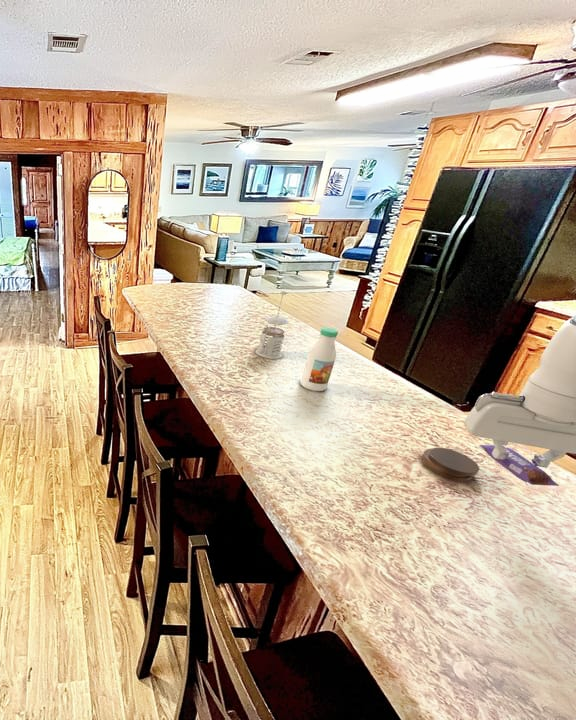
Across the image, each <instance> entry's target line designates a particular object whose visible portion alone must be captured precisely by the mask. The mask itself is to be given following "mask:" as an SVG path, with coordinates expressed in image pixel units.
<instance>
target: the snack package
mask: <svg viewBox="0 0 576 720" xmlns="http://www.w3.org/2000/svg"><path fill="white" fill-rule="evenodd" d="M502 446H503V448H504V449H505V450H506V451H507V452H508V453H509V455H508V457H506V458H507V459H506V460H502V459H496V458H494V456H493V455H492V452H493V450H494V448H495V446H494V444H493V445H492V444H491V445H489V444H479V447H481V448H482V449H483V450H484V451H485V453H486V454H487V455H488V456H489V457H490V458H491V459H492V460H494V461H495V462H497V463H498V464H499V465H501V466H502V467H503V468H504V469H506V470H507V471H509V472H510V473H511V474H512V475H514V476H515V477H516V478H517V479H519V480H521V481H523V482H524V483H528V484H530V485H531V486H532V485H533V486H553V487H555V486H556V487H560V485H559V484H558V483H557V482H555V481H554V480H553V479H552V477H551V476H550V475H549V474H548V473H546V471H544V470H543V469H542V468H541V467H538V466H535V464H533V463H532V461H529V460H528V459H527V458H525V457H524V456H523V455H522V454H519V452H517V451H516V450H514V449H512V448H509V447H507V446H506V447H505V446H504V445H502Z"/></svg>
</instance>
